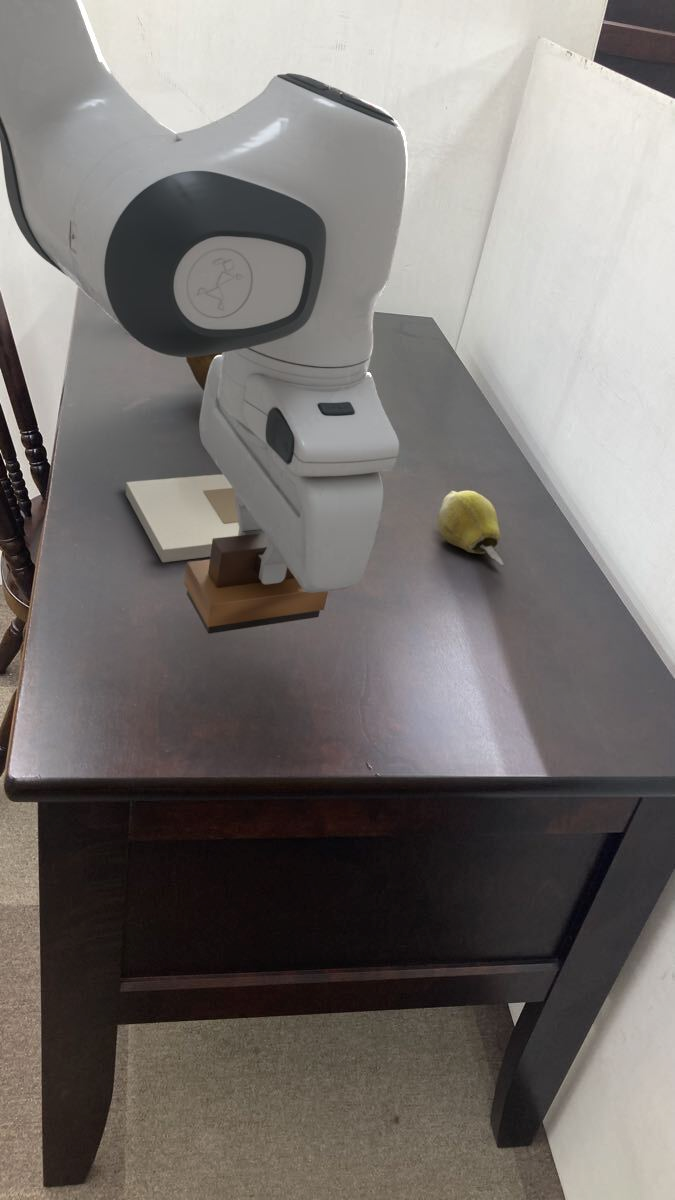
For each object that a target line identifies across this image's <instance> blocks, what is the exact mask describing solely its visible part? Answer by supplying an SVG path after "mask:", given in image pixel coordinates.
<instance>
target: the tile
mask: <svg viewBox="0 0 675 1200" xmlns="http://www.w3.org/2000/svg"><path fill="white" fill-rule="evenodd" d="M235 494H236V492H235V490H234V489H233V488H232V486H231V485H230V483H229V482H228V480H227V479H226V477H225V476H224V475H223V473H221V474H209V475H196V476H195V475H194V476H184V477H173V478H161V479H148V480H138V481H137V480H136V481H126V483H125V496H126V498H127V499H128V501H129V503H130V505H131V507H132V509H133V511H134V513H135V514H136V517H137V519H138V520H139V522H140V524H141V526H142V527H143V529H144V532H145V533H146V535H147V537H148V539H149V540H150V542H151V544H152V547H153V549H154V551H155V552H156V553H157V556H158V557H159V560H160V562H161V563H171V562H179V561H187V560H194V559H203V558H210V555H211V548H212V540H213V538H221V537H230V536H238V532H239V524H238V517H237V510H236V502H235Z"/></svg>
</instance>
